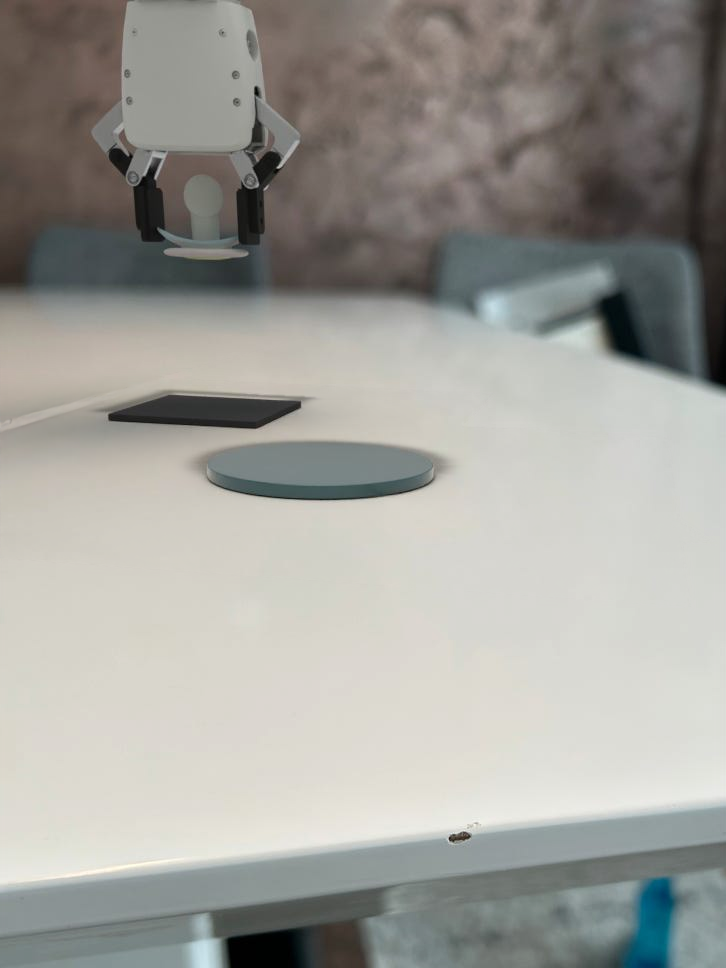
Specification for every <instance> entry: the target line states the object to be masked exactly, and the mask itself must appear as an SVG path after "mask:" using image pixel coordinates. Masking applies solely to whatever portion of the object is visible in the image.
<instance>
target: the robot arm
mask: <svg viewBox="0 0 726 968" xmlns="http://www.w3.org/2000/svg"><path fill="white" fill-rule="evenodd" d="M241 2H243V0H130V1H127V3H126V8H125V9H126V10H125V16H124V24H123V33H122V44H121V45H122V46H121V47H122V48H121V98H120V100H118V101H117V102H116V103H115V104H114V105H113V106H112V107H111V108H110V110H108V111H107V112H106V113H105V115H103V116H102V117H101V119H98V121H97V122H96V123H95V124H94V126H92V127H91V129H90V135H91V137H92V138H93V140H94V141H95V142H96V143H97V144H98V146H99V147H100V149H101V150H102V151H103V153H104V154H106V156H107V157H108V159H109V161H110V163H111V164H112V165H113V166H114V167H115V169H117V170H118V172H120V173H121V174H122V175H123V177H124V178H125V180H126V182H127V184H128V185H129V186H132V188H133V191H132V192H133V202H134V203H133V205H134V217H135V225H136V229H137V230H138V231H139V232H140V239H141V241H142V242H143V243H163V242H164V241H166V240H167V238H165V237H164V236H163V235H162V234H161V233H159V231H158V230H157V227H158V228H160V229H162V230H164V231H166V221H165V207H164V205H165V203H164V192H163V190H162V188H161V187H160V188H159V187H157V179H158V176H159V174H160V172H161V170H162V167H163V164H164V163H165V160H166V158H167V155H183V156H185V155H189V156H228V157H229V159H230V162H231V163H232V165H233V167H234V169H235V171H236V173H237V175H238V176H239V179H240V181H241V182H240V185H241V188H237V190H236V191H235V196H236V197H235V198H236V219H237V220H236V222H237V235H238V241H239V243H238V244H241V246H259V245H260V244H261V235H264V234H265V230H266V222H265V218H266V217H265V194H264V193H265V192H264V191H266V190H267V189H268V188H269V186H270V183H271V182H272V180H274V179H275V177H276V176H277V175H278V174H279V173H280V171H282V170H283V168H284V166H285V164H286V162H287V160H288V159H289V158H290V157H291V155H292V154H293V152H294V151H295V150H296V148H297V147H298V145H299V144H300V143H301V140H302V136H301V133H300V132H299V131H298V130H297V129H296V128H295V127H293V126H292V124H290V123H289V122H288V121H287V120H286V119H285V118H284V117H283V116H281V115H280V114H279V113H278V112H277V111H276V110H275V109H274V108H273V107H272V106H270V104H269V103H267V98H266V89H265V80H264V72H263V63H262V57H261V51H260V44H259V43H260V42H259V38H258V32H257V27H256V23H255V19H254V14H253V11H252V9H250V8H249V7H246V6H245V5H242V4H241ZM123 130H124V134H125V137H126V140H127V142H128V143H129V144H130V145H132V146H133V147H135V151H134V154H132V153H131V152H130V151H129V150H128V149H127V148H126V147H125V146H124V144H123V142H122V141H121V139H120V134H121V132H122V131H123ZM269 132H270V133H271V134H272V135H273V137H274V141H273V142H272V145H271V147H270V149H269V150H268V151H266V152H265V153H264V154H263V155H262V156H261V158H260V159H259V158H258V156H257V155H258V154H260V153H262V152H263V151H265V149H266V148H267V146H268V143H269Z"/></svg>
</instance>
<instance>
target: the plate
mask: <svg viewBox="0 0 726 968" xmlns="http://www.w3.org/2000/svg"><path fill="white" fill-rule="evenodd" d="M434 470H435V465H434V462H433V461H432V460H431V458H429V457H427V456H425V455H422V454H420V453H417V452H414V451H410V450H406V449H401V448H396V447H390V446H383V445H375V444H365V443H352V442H351V443H350V442H327V441H325V442H324V441H321V442H319V441H318V442H314V441H312V442H310V441H309V442H308V441H307V442H285V443H272V444H261V445H254V446H246V447H241V448H235V449H231V450H227V451H224V452H221V453H218V454H216V455H214V456H212V457H210V458H209V459H208V461H207V462H206V476H207V478H208V480H209V481H210V482H211V483H213V484H215V485H217V486H218V487H221V488H224V489H227V490H231V491H234V492H239V493H244V494H248V495H249V494H250V495H255V496H263V497H272V498H286V499H300V500H301V499H304V500H339V499H341V500H343V499H360V498H369V497H370V498H371V497H380V496H388V495H394V494H400V493H404V492H409V491H412V490H416V489H418V488H422V487H424V486H427V485H428V484H429V483H430V482H432V480H433V479H434V472H435V471H434Z"/></svg>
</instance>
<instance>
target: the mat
mask: <svg viewBox="0 0 726 968" xmlns="http://www.w3.org/2000/svg"><path fill="white" fill-rule="evenodd" d="M301 407H302V401H301V400H286V399H267V398H266V399H265V398H247V397H246V398H244V397H227V396H226V397H225V396H208V395H207V396H206V395H186V394H167V395H163V396H160V397H157V398H154V399H151V400H147V401H145V402H142V403H141V402H140V403H138V404H135V405H132V406H129V407H126V408H122V409H119V410H116V411H113V412H109V413H108V414H107V419H108V421H117V422H136V423H156V424H170V425H171V424H173V425H190V426H208V427H210V426H212V427H227V428H243V429H244V428H245V429H257V428H259V427H261V426H264V425H266V424H268V423H270V422H272V421H274V420H277V419H279V418H280V417H283V416H285V415H287V414H290V413H291V412H294V411H296V410H298V409H299V408H301Z"/></svg>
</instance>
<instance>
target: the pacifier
mask: <svg viewBox="0 0 726 968" xmlns="http://www.w3.org/2000/svg"><path fill="white" fill-rule="evenodd" d="M183 201H184V204H185V206H186V208H187V210H188V211H189V212H190V225H191V236H192V239H190V238H189V239H188V238H185V237H181V236H176V235H174V234H173V233H170V232H168V231H166V230H165V231H164V230H162V229H160V228H158V227H157V230H158V231H159V233H161V234H162V235H163V236H164V237H165V238H166V240H168V241H170V242H172V243H174V244H175V245H177V246H180V247H169V248H166V249H164V250H163V253H164V255H166V256H170V257H177V258H178V257H179V258H184V259H190V260H203V261H204V260H213V261H221V260H227V259H229V260H230V259H232V258H244V257H247V256H249V251H248V250H246V249H242V248H233V246H236V245H238V244H240V243H239V241H238V234H237V235H234V236H231V237H227V238H222V239H221V235H220V234H221V232H220V216H219V214H220V213H219V212H220V211H221V210H222V207H223V204H224V192H223V189H222V187H221V185H220V183H219V182H218V181H217V180H216V179H215V177H212V176H211V175H208V174H203V173H202V174H196V175H194V176H193V175H192V177H190V178H189V179H188V181H186V183H185V185H184V188H183Z"/></svg>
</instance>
